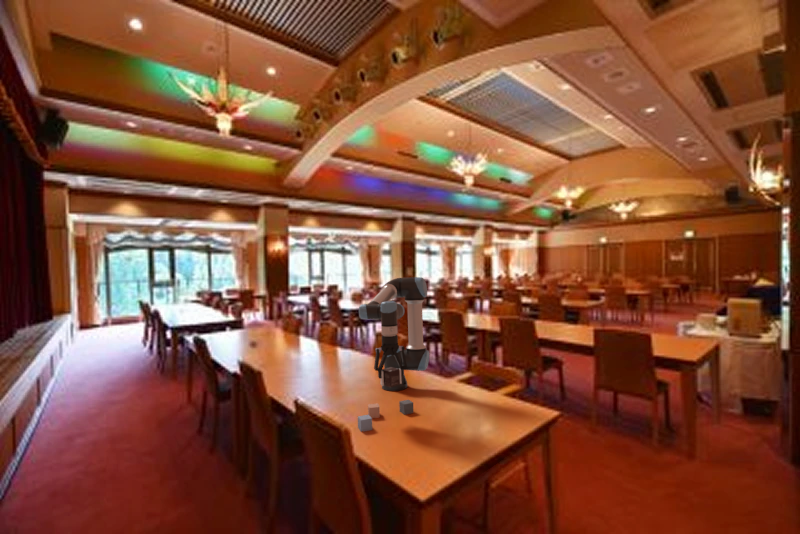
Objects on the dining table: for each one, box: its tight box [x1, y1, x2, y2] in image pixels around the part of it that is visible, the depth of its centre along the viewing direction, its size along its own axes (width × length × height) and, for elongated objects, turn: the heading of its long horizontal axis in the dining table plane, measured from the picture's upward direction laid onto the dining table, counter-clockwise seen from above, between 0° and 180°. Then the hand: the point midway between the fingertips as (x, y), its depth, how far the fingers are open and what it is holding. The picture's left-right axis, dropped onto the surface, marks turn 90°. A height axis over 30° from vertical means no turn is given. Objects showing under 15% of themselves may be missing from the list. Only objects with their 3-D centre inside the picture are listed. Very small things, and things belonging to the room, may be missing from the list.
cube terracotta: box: [367, 403, 381, 419], centre depth 180 cm, size 5×5×5 cm
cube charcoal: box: [398, 399, 415, 416], centre depth 184 cm, size 5×5×5 cm
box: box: [382, 367, 400, 387], centre depth 176 cm, size 6×6×7 cm
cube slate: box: [357, 414, 373, 433], centre depth 166 cm, size 5×5×5 cm
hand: (391, 384), depth 176 cm, fingers closed on box, 8 cm apart
